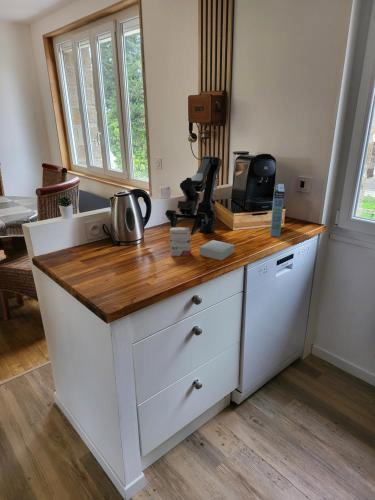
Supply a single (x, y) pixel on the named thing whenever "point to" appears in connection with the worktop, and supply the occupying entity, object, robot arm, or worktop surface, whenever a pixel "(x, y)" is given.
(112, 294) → the worktop surface
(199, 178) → the robot arm
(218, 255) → the base block
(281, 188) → the gum box
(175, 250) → the ink box
